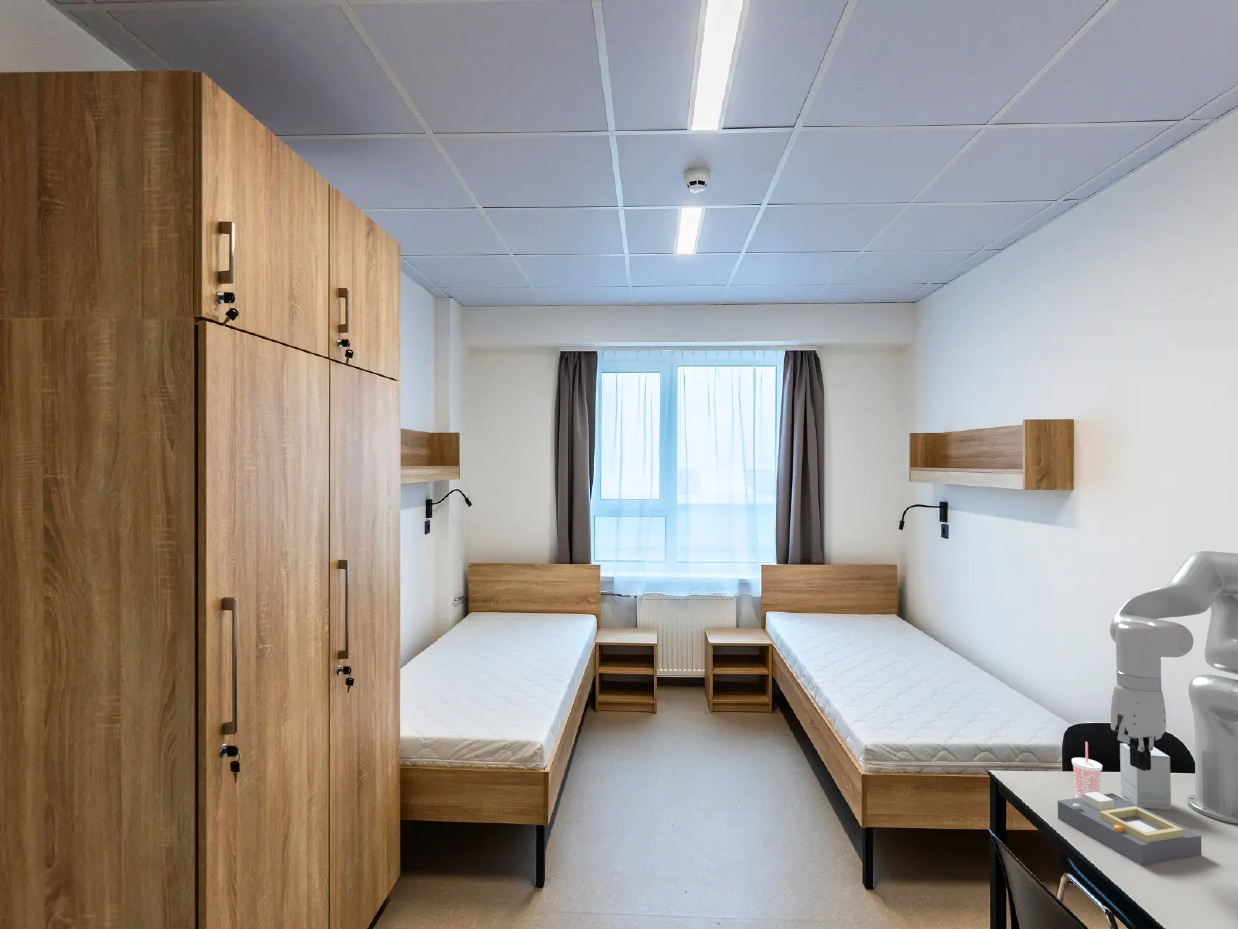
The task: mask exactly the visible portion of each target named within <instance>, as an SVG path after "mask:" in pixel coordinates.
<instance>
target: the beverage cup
mask: <svg viewBox="0 0 1238 929" xmlns="http://www.w3.org/2000/svg"><path fill="white" fill-rule="evenodd" d="M1084 742H1085V746H1084V747H1085V752H1084V753H1085V757H1073V758H1071V764H1072V769H1073V776H1074V778H1073V779H1074V791H1075V792H1074V793H1075V798H1081V797H1083V793H1090V792H1099V793H1101V792H1100V790H1101V773H1102V771H1103V764H1101V763H1100V762H1098V761H1096V760H1093V759H1090V758H1089V748H1088V747H1089V743H1088V741H1084Z"/></svg>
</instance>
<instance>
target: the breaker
mask: <svg viewBox="0 0 1238 929" xmlns="http://www.w3.org/2000/svg"><path fill="white" fill-rule="evenodd" d="M1083 803H1084V804H1086V805H1088V806H1090V807H1092V808H1093V809H1095V810H1097V811H1099V812H1100V811H1105V810H1112V809H1114V800H1113V799H1111V798H1109V797H1107V796H1105V795H1103V793H1101V792H1100V793H1099V792H1090V793H1083Z"/></svg>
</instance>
